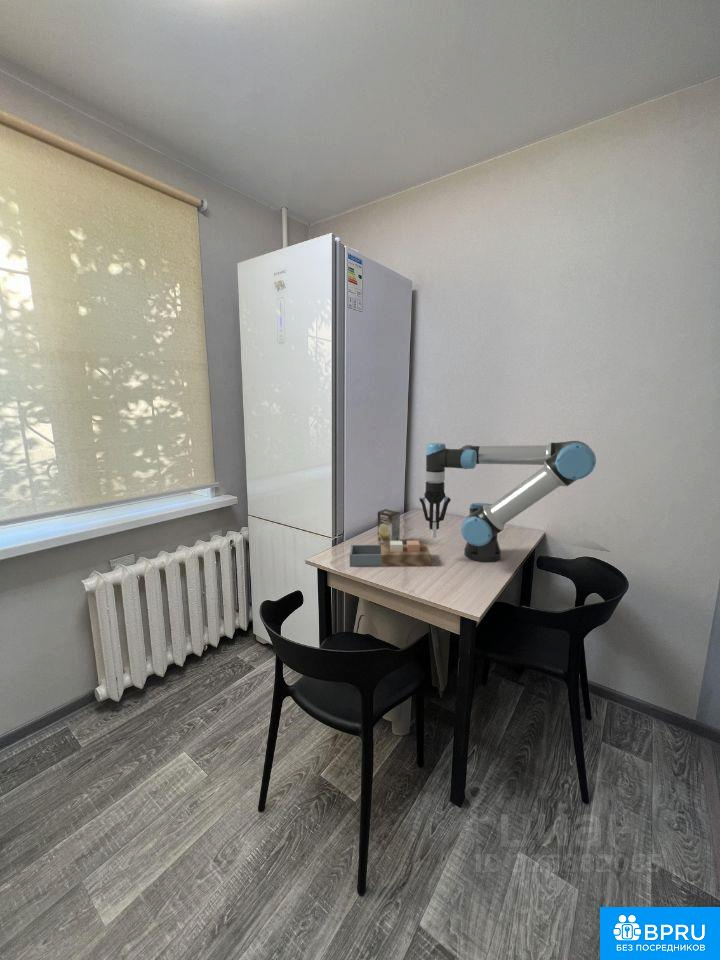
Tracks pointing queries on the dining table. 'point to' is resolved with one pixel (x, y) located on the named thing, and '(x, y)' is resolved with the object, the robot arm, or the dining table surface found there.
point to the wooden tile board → (405, 557)
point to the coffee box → (388, 526)
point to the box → (365, 556)
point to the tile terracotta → (413, 546)
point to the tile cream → (396, 546)
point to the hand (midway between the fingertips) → (433, 536)
